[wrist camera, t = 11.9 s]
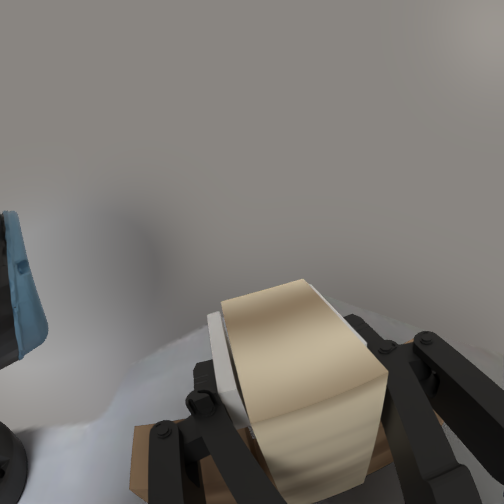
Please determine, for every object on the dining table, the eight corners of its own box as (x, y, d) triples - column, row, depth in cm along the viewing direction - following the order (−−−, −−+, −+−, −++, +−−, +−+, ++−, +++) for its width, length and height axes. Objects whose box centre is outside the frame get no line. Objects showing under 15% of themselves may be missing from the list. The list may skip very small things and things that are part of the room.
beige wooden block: (363, 482, 11) (388, 371, 8) (287, 510, 10) (250, 423, 7) (316, 398, 18) (303, 278, 15) (257, 417, 18) (220, 301, 15)
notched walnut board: (180, 523, 12) (129, 489, 10) (176, 473, 17) (134, 426, 14) (437, 433, 15) (463, 374, 12) (406, 397, 19) (418, 335, 17)
